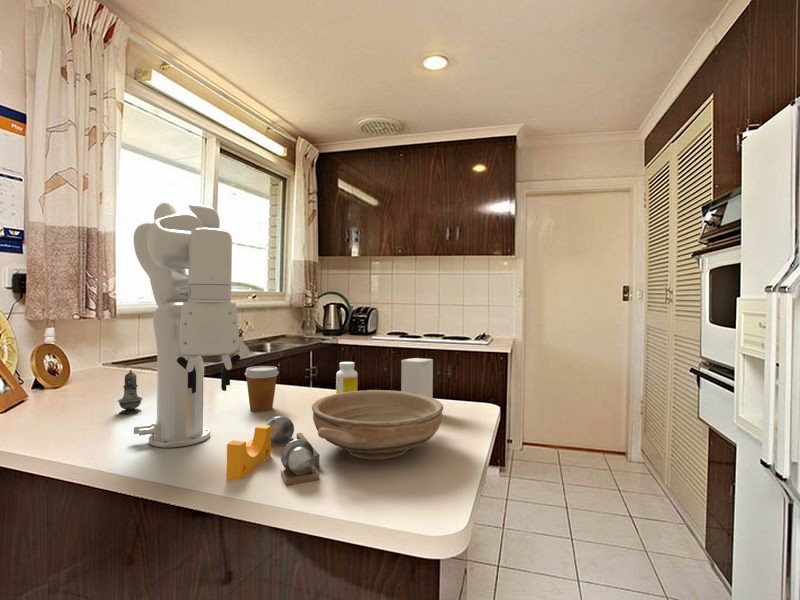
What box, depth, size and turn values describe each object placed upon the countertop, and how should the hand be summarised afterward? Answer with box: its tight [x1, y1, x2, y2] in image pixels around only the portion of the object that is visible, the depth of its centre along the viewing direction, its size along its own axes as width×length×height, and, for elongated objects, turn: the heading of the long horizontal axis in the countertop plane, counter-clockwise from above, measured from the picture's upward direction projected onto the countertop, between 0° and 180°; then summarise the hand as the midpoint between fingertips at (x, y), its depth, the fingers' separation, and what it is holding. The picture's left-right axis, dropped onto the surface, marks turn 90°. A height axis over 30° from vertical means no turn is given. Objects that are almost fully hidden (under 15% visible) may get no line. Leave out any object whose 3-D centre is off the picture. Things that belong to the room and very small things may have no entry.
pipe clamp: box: [226, 424, 272, 481], centre depth 84 cm, size 12×4×6 cm, turn 170°
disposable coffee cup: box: [244, 365, 280, 413], centre depth 126 cm, size 10×10×12 cm
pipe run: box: [266, 415, 320, 486], centre depth 88 cm, size 8×26×6 cm, turn 26°
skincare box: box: [400, 357, 434, 398], centre depth 124 cm, size 8×7×16 cm
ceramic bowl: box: [311, 389, 444, 461], centre depth 94 cm, size 37×29×10 cm
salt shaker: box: [117, 369, 143, 416], centre depth 121 cm, size 6×6×12 cm
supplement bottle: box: [335, 361, 359, 394], centre depth 134 cm, size 7×7×13 cm
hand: (209, 389), depth 81 cm, fingers open, 4 cm apart
